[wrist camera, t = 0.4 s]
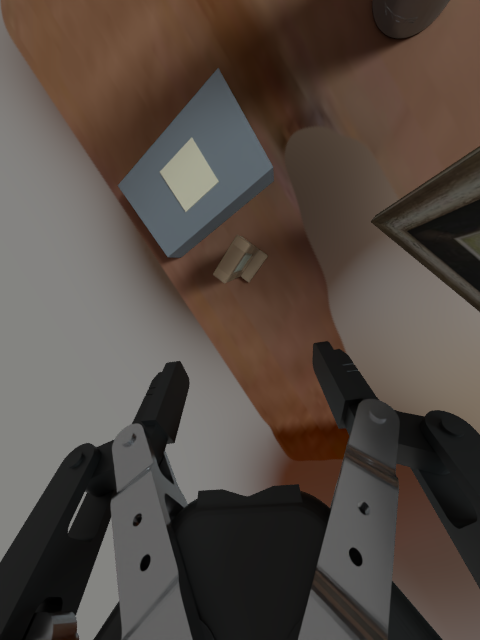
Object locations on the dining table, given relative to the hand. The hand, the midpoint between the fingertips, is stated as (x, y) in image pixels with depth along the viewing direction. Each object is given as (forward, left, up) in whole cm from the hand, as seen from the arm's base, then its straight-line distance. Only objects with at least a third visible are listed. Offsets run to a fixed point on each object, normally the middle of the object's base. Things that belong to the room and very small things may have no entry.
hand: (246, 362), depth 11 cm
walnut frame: (-3, -7, -28) cm, 29 cm away
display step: (-11, -19, -28) cm, 36 cm away
